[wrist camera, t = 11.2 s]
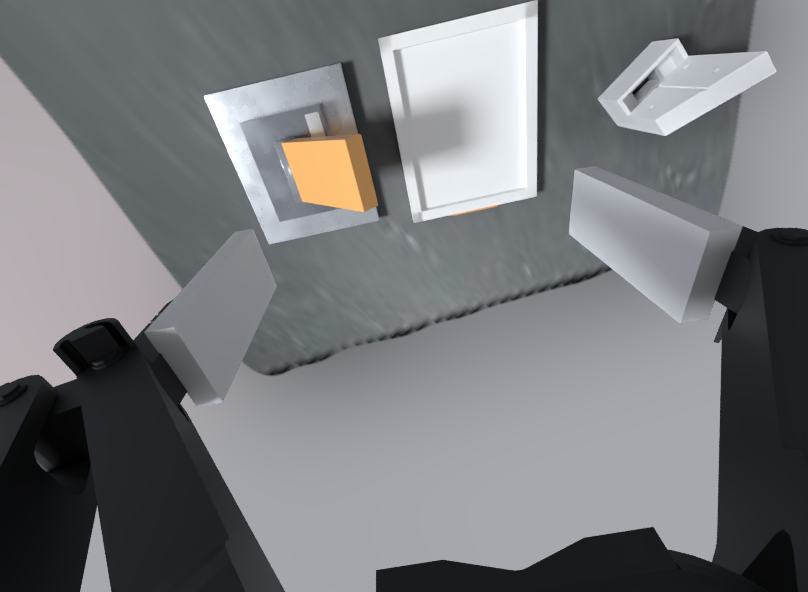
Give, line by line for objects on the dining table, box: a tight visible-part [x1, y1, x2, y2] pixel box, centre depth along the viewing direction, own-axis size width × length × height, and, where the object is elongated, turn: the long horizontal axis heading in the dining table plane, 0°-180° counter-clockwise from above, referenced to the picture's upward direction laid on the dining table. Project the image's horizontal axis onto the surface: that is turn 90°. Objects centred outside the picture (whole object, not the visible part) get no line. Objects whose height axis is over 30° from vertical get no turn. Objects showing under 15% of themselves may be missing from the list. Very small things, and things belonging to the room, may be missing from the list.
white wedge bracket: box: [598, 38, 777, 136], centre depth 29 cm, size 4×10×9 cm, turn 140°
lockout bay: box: [378, 0, 538, 223], centre depth 33 cm, size 16×13×1 cm
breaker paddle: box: [274, 134, 378, 212], centre depth 28 cm, size 5×2×11 cm
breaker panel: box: [204, 63, 379, 244], centre depth 33 cm, size 14×12×2 cm
